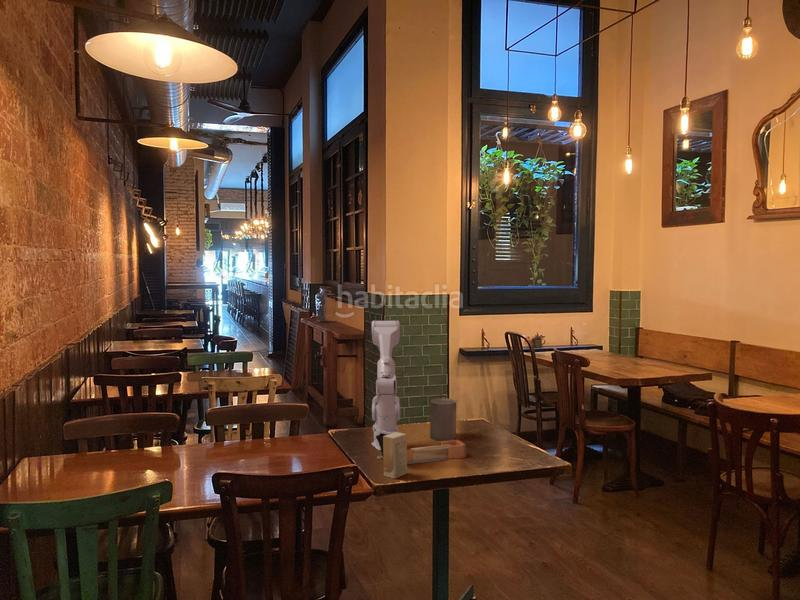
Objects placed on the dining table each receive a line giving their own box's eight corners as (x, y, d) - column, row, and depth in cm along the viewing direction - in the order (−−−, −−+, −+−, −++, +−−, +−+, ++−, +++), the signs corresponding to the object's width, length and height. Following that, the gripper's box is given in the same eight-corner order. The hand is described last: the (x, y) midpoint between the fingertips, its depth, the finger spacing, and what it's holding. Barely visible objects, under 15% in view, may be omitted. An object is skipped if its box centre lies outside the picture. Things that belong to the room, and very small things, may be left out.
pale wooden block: (410, 459, 204) (410, 448, 203) (449, 454, 209) (449, 444, 209) (415, 462, 200) (415, 451, 200) (454, 457, 205) (454, 447, 205)
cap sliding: (388, 458, 203) (388, 446, 203) (406, 456, 205) (406, 444, 205) (395, 464, 196) (395, 451, 196) (413, 462, 198) (413, 450, 198)
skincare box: (396, 471, 189) (396, 431, 189) (407, 474, 187) (407, 433, 186) (382, 476, 184) (382, 435, 184) (393, 479, 182) (393, 437, 181)
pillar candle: (425, 435, 233) (425, 396, 232) (448, 433, 237) (448, 393, 236) (438, 442, 224) (438, 400, 223) (461, 439, 228) (461, 398, 227)
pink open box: (441, 453, 209) (441, 441, 209) (457, 451, 211) (457, 439, 211) (449, 458, 202) (449, 446, 202) (466, 457, 204) (466, 445, 204)
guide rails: (377, 458, 203) (377, 456, 203) (437, 452, 210) (437, 450, 210) (385, 466, 194) (385, 463, 194) (447, 460, 201) (447, 457, 201)
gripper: (409, 417, 195) (409, 461, 195) (385, 409, 207) (385, 450, 207) (389, 420, 191) (390, 464, 191) (367, 412, 203) (367, 453, 204)
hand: (386, 457), depth 199 cm, fingers closed
